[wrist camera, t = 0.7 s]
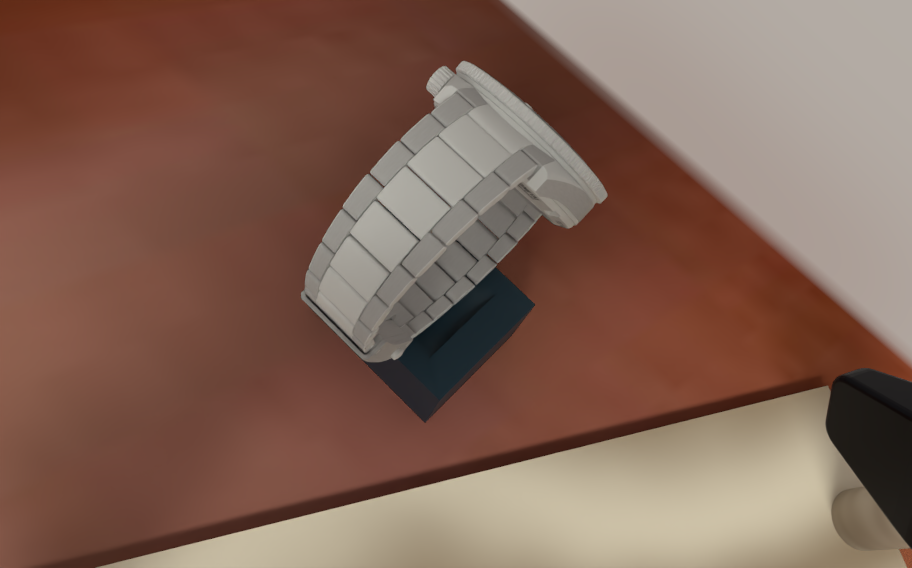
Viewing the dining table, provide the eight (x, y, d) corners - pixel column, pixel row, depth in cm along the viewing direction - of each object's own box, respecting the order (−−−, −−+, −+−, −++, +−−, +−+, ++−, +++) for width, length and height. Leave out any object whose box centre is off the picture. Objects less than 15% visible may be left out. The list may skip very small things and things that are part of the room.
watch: (546, 300, 26) (687, 123, 16) (386, 462, 23) (438, 366, 13) (435, 196, 27) (504, -34, 17) (266, 338, 24) (228, 160, 14)
